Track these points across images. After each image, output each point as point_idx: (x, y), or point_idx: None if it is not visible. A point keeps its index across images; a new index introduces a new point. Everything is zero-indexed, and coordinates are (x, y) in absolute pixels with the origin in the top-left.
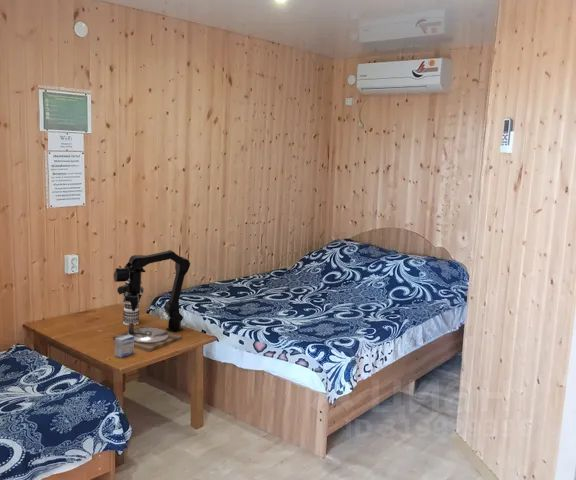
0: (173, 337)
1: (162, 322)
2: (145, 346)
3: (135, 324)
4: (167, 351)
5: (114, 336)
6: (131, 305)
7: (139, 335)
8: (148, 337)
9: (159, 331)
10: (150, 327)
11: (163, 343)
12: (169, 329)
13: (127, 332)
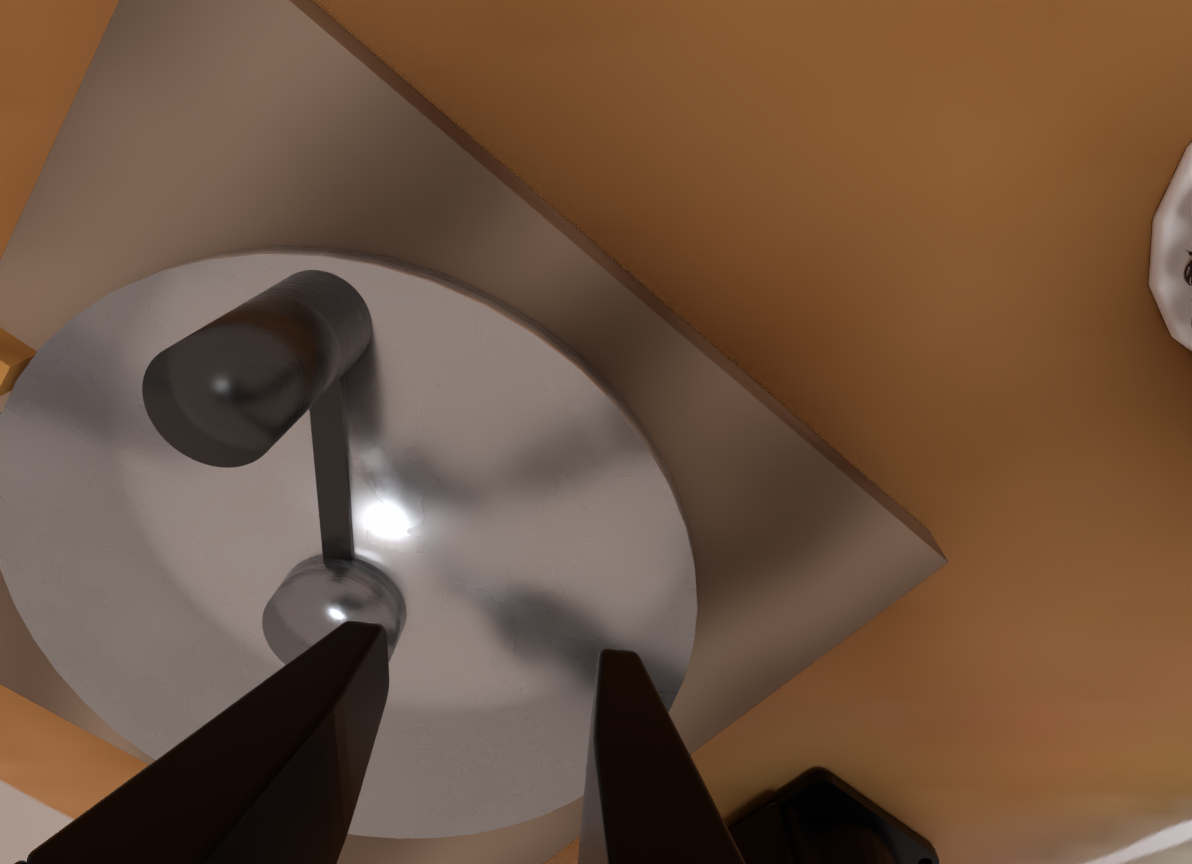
0: (385, 856)
1: (1181, 731)
2: None
3: (1167, 323)
4: (7, 755)
5: None
6: (49, 856)
7: (249, 477)
8: (197, 611)
9: (512, 748)
10: (814, 609)
11: (135, 754)
12: (752, 819)
13: (504, 220)
